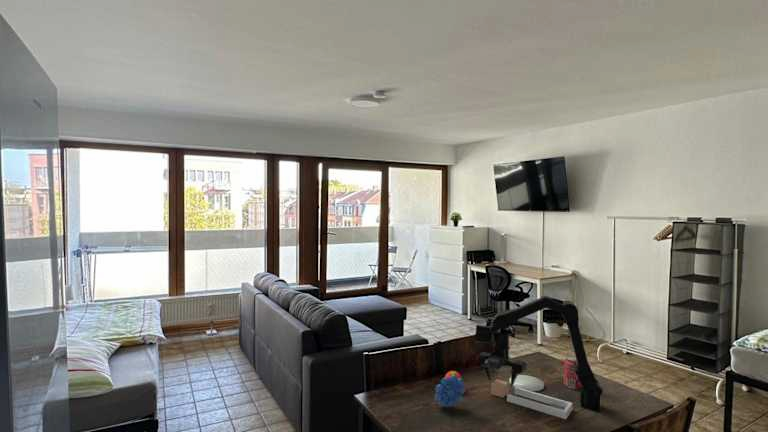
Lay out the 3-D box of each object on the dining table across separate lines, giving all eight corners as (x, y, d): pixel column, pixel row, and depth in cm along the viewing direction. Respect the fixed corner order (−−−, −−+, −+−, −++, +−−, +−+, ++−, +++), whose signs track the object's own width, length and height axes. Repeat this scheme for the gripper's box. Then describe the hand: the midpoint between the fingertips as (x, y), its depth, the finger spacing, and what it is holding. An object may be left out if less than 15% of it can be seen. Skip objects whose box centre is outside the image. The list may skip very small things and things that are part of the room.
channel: (572, 409, 154) (572, 403, 154) (565, 419, 147) (565, 412, 147) (515, 393, 167) (515, 386, 167) (506, 401, 160) (507, 394, 160)
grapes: (461, 401, 160) (462, 370, 160) (466, 409, 153) (467, 377, 153) (431, 402, 159) (432, 370, 158) (435, 410, 152) (436, 378, 152)
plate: (548, 383, 177) (548, 380, 177) (537, 394, 166) (537, 392, 166) (516, 374, 186) (516, 372, 186) (504, 384, 175) (504, 382, 175)
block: (508, 393, 167) (508, 382, 167) (503, 398, 163) (503, 386, 163) (496, 390, 170) (496, 379, 170) (491, 394, 166) (491, 383, 166)
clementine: (461, 393, 166) (461, 376, 166) (443, 392, 168) (444, 374, 167) (461, 385, 174) (462, 368, 174) (445, 383, 175) (445, 367, 175)
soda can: (578, 383, 177) (579, 355, 177) (584, 390, 170) (585, 361, 170) (561, 382, 178) (561, 354, 178) (566, 389, 171) (567, 361, 171)
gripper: (471, 344, 165) (470, 383, 166) (517, 355, 154) (516, 396, 154) (482, 337, 174) (482, 374, 175) (527, 347, 163) (526, 386, 163)
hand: (500, 383), depth 166 cm, fingers open, 9 cm apart
